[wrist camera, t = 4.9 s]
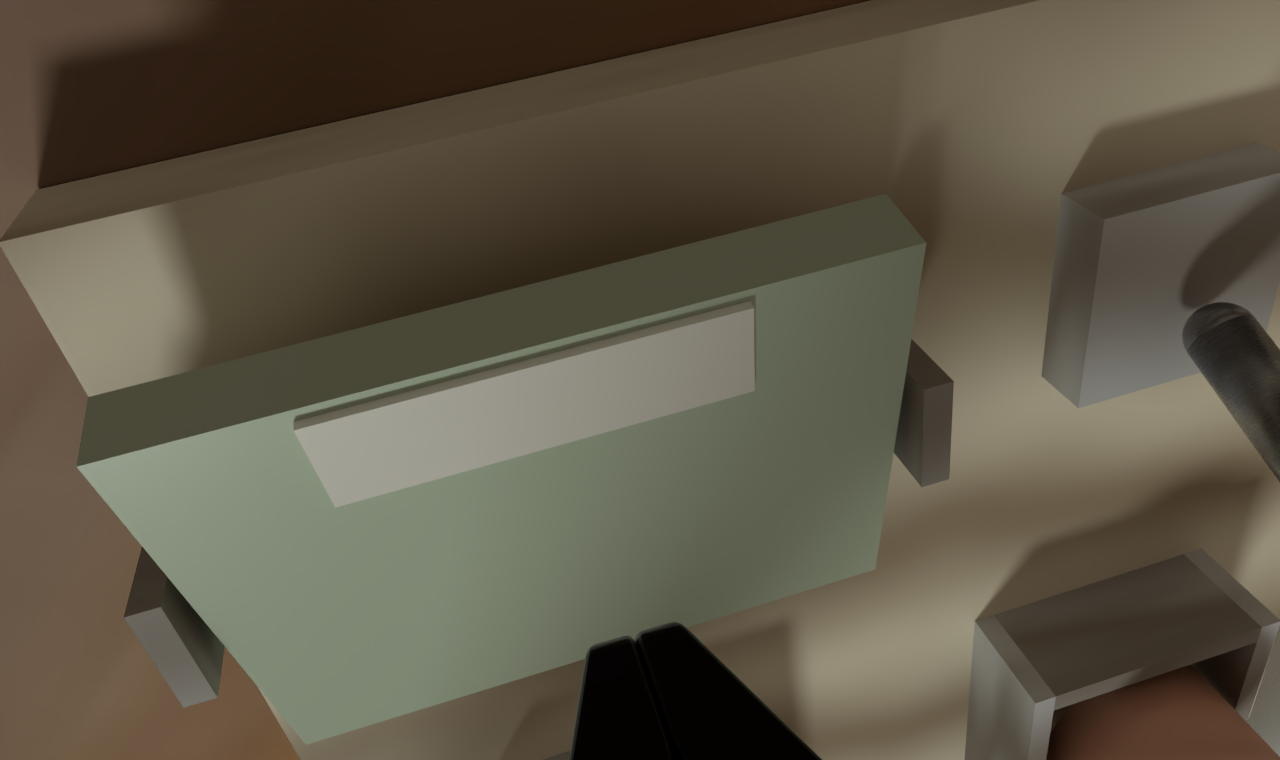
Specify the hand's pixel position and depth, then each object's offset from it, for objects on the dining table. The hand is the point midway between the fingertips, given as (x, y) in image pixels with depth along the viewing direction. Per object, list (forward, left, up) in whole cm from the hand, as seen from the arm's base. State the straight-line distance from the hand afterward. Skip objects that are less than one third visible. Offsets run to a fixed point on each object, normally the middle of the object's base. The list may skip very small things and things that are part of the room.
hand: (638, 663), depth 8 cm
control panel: (-9, -6, -10) cm, 15 cm away
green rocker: (-3, 0, -6) cm, 7 cm away
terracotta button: (-15, -12, -6) cm, 20 cm away
